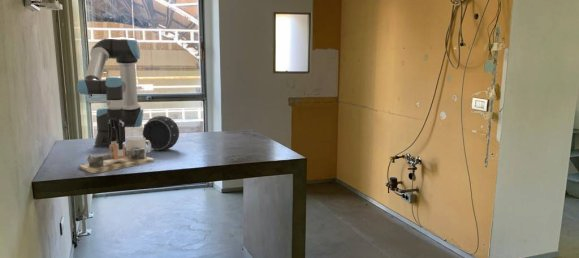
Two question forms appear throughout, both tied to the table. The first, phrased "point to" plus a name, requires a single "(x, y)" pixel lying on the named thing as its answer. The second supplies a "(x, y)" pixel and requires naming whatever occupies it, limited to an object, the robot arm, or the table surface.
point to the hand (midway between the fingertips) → (117, 154)
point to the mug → (138, 144)
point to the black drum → (161, 132)
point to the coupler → (114, 151)
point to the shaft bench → (115, 161)
